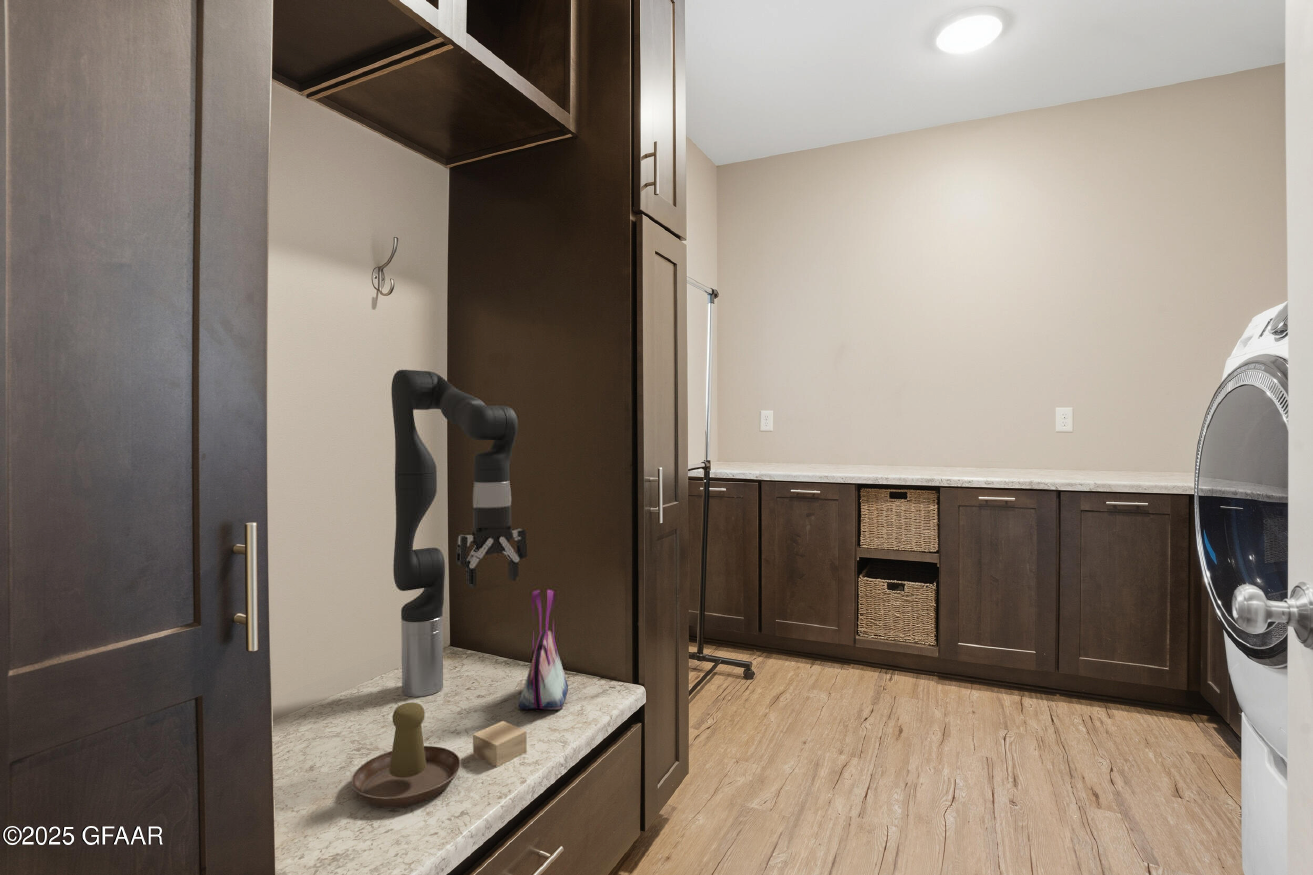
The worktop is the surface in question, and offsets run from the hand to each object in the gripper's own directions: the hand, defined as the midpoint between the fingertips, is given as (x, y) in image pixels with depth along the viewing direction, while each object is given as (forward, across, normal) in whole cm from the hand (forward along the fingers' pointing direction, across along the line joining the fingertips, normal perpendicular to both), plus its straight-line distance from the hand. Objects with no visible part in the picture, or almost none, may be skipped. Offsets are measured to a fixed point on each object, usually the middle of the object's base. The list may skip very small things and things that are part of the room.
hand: (492, 583), depth 132 cm
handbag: (+30, -15, -7) cm, 35 cm away
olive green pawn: (+28, +20, +10) cm, 35 cm away
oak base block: (+30, +3, +10) cm, 32 cm away
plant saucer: (+31, +20, +10) cm, 38 cm away
